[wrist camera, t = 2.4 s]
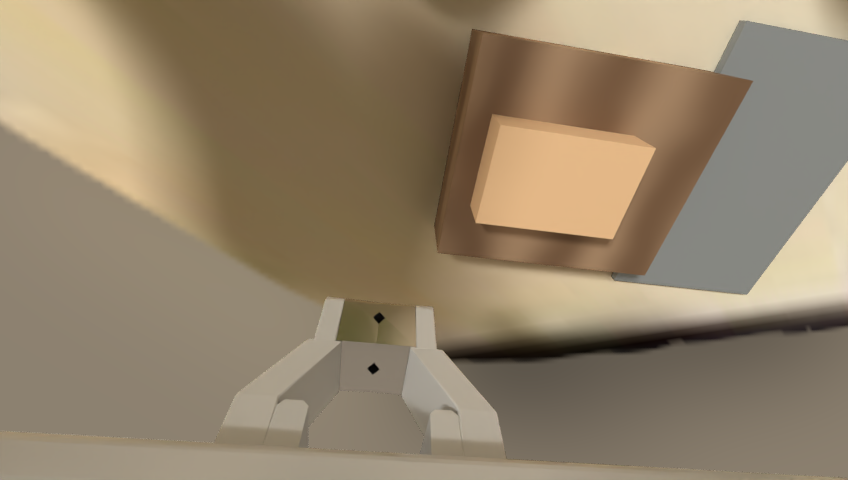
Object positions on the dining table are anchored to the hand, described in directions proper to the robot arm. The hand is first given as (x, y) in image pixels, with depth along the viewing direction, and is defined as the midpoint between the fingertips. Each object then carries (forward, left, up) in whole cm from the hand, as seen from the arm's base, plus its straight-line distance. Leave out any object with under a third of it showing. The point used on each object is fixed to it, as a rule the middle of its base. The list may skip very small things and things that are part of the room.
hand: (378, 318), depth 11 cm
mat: (+27, 0, -19) cm, 33 cm away
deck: (+12, 0, -19) cm, 22 cm away
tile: (+10, 0, -15) cm, 18 cm away
